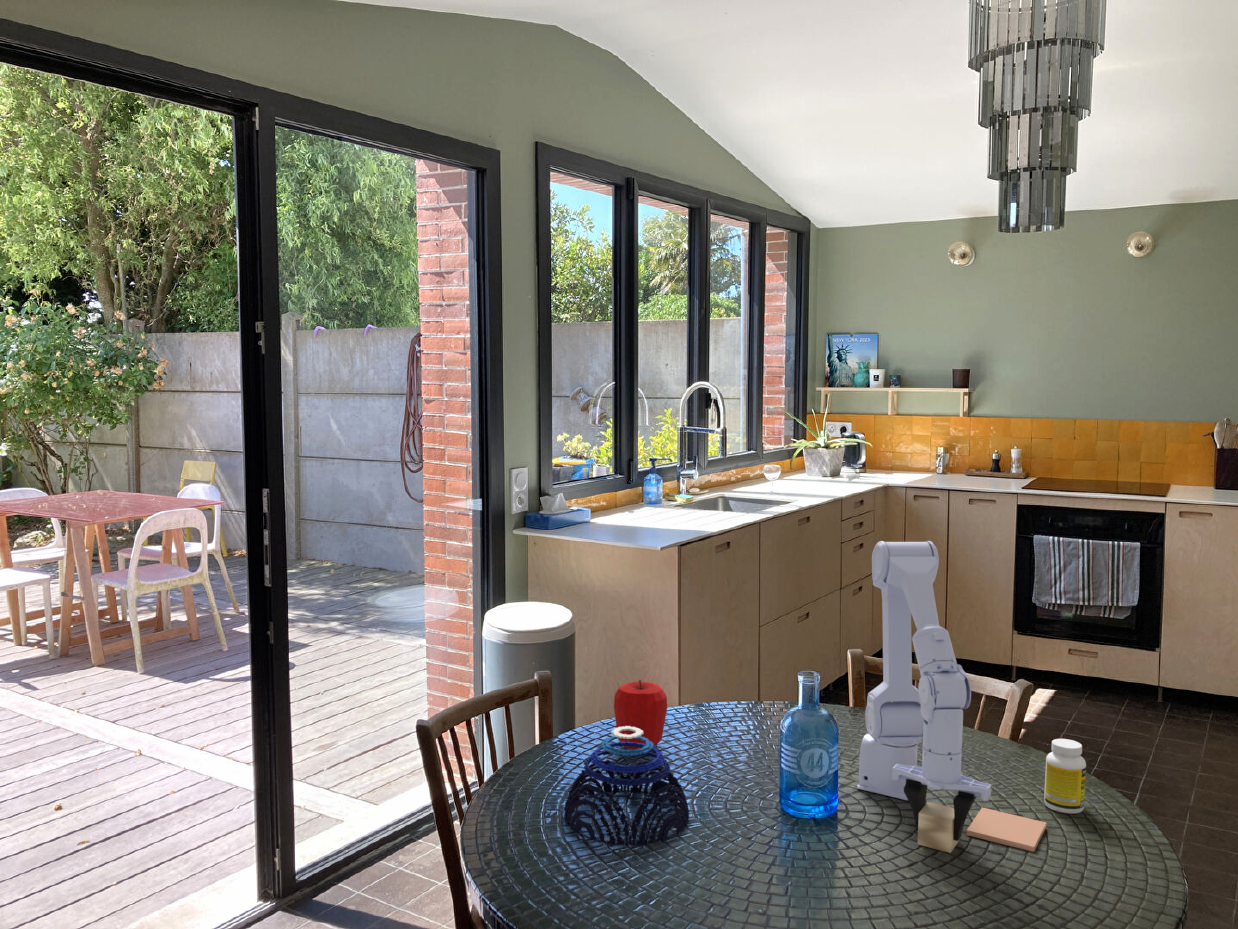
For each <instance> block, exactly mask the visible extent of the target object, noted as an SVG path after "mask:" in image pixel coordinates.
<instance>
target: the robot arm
mask: <svg viewBox="0 0 1238 929" xmlns="http://www.w3.org/2000/svg"><path fill="white" fill-rule="evenodd" d="M939 556H940V555H939V552H938V548H937V546H936V545H935V544H934V543H933V541H931V540H926V541H883V540H880V541H878V542H876V544H875V545H874V547H873V551H872V553H871V577H872V578H871V579H872V586H874V587H876V588H878V589H880V591H881V599H882V601H881V606H882V610H881V611H882V618H881V619H882V664H883V665H882V668H883V669H882V670H883V671H882V672H883V673H882V674H883V675H882V676H883V679H882V680H883V681H882V682H881V683H880V684H879V685H877V686H876V687H875V688H873V689H872V690H871V691H869V692H868V693H867V697H866V698H867V699H866V707H865V712H864V713H865V715H864V718H865V719H864V721H865V727H866V731H867V733H865V735H864V736H863V738H862V739H861V742H860V748H859V761H858V762H859V764H858V766H859V768H858V784H857V786H856V787H857V789H858V790H862V791H867V792H870V793H876V794H879V795H883V796H886V797H887V796H888V797H892V798H895V799H900V800H904V801H908V803H909V805H910V808H911V811H912V814H913V817H914V821H915V827H916V831H917V832H918V819H919V812H920V811H921V810H922V808H923V807H924V806H925V805H926V803H927V802H926V801H927V791H928V788H929V789H933V790H938V791H939V790H940V791H941V790H945V791H950V792H954V793H957V794H956V795H955V797H954V798H953V801H952V802H953V804H952V805H953V808H954V831H953V840H955V841H958V842H959V841H960V839H961V837H962V835H963V829H964V825H965V823H966V819H967V816H968V814H969V812H970V810H971V808H972V806H973V804H974V803H975V801H976V798H979V799H980V800H981V801H984V802H988V801H989V800H990V798H991V797H992V784H990V783H986V782H982V781H980V780H976V779H975V778H974V779H973V778H972V777H969V776H967V775H966V776H965V775H963V774H962V772H961V771H962V749H963V747H962V746H963V725H964V724H963V723H964V722H963V721H964V710H966V709H968V708H969V707H970V705H971V701H972V689H971V688H972V687H971V683H970V678H969V676H968V674H967V673H966V671H964V669H963V666H962V665H961V664H958V662H957V659H956V655H955V652H954V648H953V644H952V640H951V637H950V633H949V631H948V630H947V629H946V628H944V627H942V626H941V625H940V622H939V621H940V620H939V615H938V610H937V604H936V597H935V591H934V590H935V589H934V585H933V584H934V583H935V580H936V577H937V575H938V574H937V573H938V570H939V564H940V557H939ZM912 619H913V623H914V625H915V628H916V631H915V632H914V634H913V636H912ZM912 644H913V648H914V649H913V650H914V653H915V657H916V661H917V665H918V669H919V673H920V678H919V681H918V682H919V683H918V688H917V687H916V686H914V685H913V658H912V656H913V655H912V654H913V653H912ZM919 744H922V758H921V759H922V760H921V766H918V749H919V748H918V746H919Z"/></svg>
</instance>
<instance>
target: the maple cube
mask: <svg viewBox="0 0 1238 929" xmlns="http://www.w3.org/2000/svg"><path fill="white" fill-rule="evenodd" d="M953 831H954V807H951V806H948V805H943V804H940V803H935V802H932V801H927V802H926V803H925V806H924V807H923V808H922V810H921V811H920V812H919V819H918V831H917V845H918V846H923V847H926V848H930V849H934V850H937V851H941V852H946V853H950V854H951V853H952V852H953V850H954V849H955V847H956V846H957V845H958V843H959V841H955V840H953Z"/></svg>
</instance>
